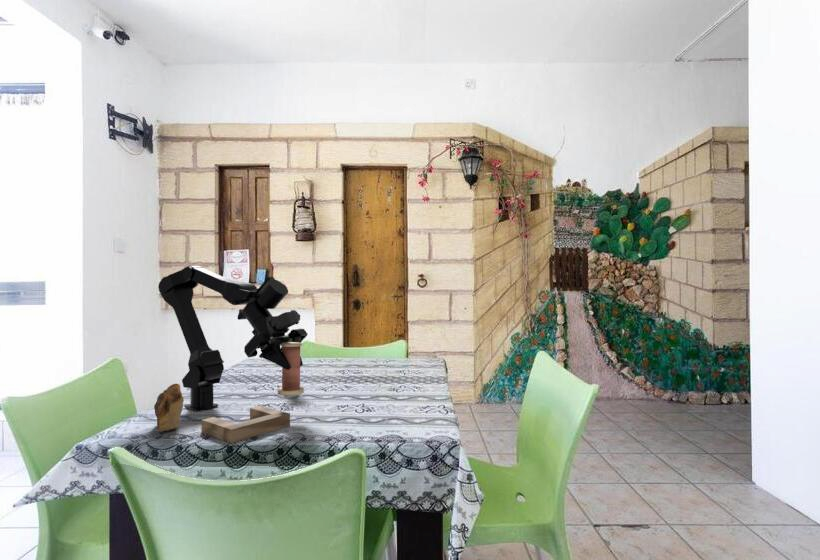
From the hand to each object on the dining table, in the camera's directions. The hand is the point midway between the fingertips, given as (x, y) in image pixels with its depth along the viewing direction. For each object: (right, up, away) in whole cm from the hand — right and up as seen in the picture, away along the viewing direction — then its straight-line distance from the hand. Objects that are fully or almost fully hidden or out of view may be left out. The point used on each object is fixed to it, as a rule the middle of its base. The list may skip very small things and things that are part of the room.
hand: (295, 367), depth 120 cm
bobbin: (-1, -7, +1) cm, 7 cm away
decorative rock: (-29, -14, -6) cm, 32 cm away
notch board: (-10, -14, -6) cm, 18 cm away
